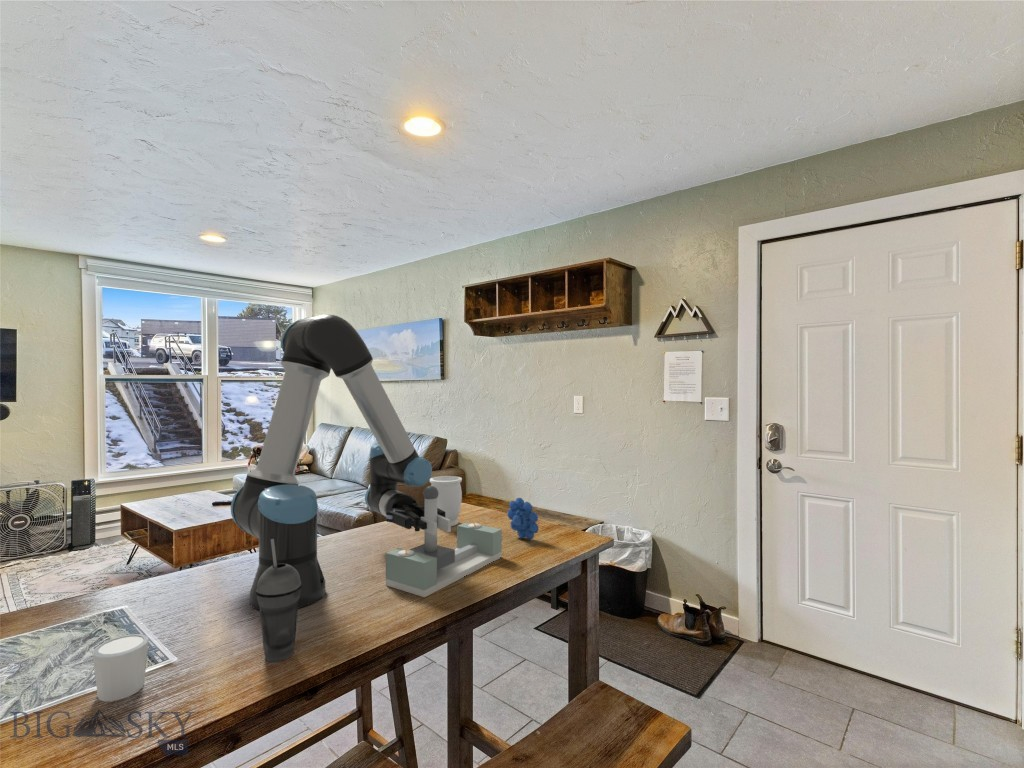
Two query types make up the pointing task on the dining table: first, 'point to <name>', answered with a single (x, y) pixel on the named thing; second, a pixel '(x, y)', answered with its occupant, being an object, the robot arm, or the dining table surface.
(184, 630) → the dining table surface
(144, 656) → the white cylinder
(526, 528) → the grapes
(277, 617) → the beverage cup
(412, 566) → the rail stand
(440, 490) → the jar
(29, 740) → the dining table surface
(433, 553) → the carriage
